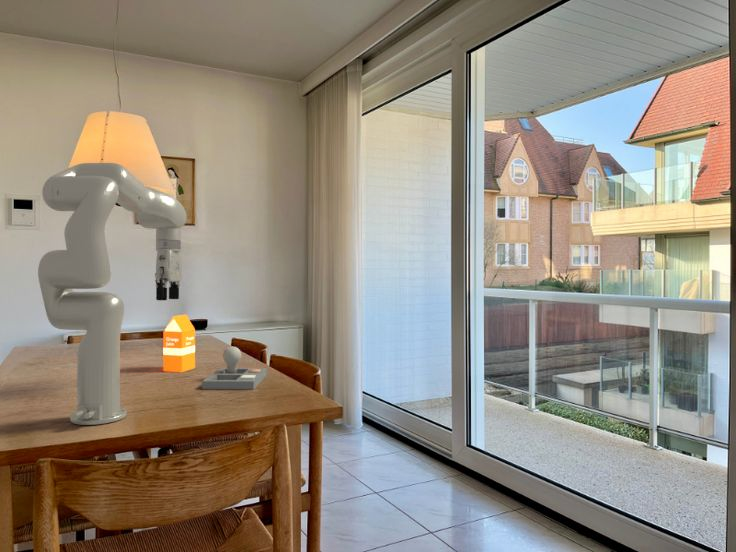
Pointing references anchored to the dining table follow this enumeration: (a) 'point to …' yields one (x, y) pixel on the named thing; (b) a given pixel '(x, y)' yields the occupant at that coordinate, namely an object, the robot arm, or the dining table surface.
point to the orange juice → (179, 345)
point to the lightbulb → (232, 359)
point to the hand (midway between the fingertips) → (167, 299)
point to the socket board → (235, 379)
